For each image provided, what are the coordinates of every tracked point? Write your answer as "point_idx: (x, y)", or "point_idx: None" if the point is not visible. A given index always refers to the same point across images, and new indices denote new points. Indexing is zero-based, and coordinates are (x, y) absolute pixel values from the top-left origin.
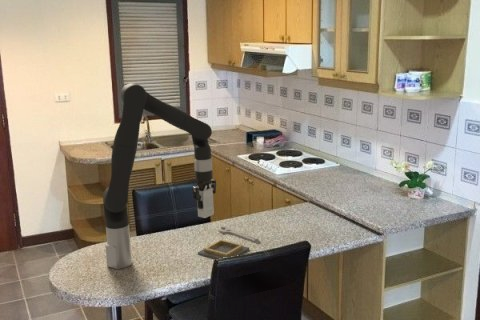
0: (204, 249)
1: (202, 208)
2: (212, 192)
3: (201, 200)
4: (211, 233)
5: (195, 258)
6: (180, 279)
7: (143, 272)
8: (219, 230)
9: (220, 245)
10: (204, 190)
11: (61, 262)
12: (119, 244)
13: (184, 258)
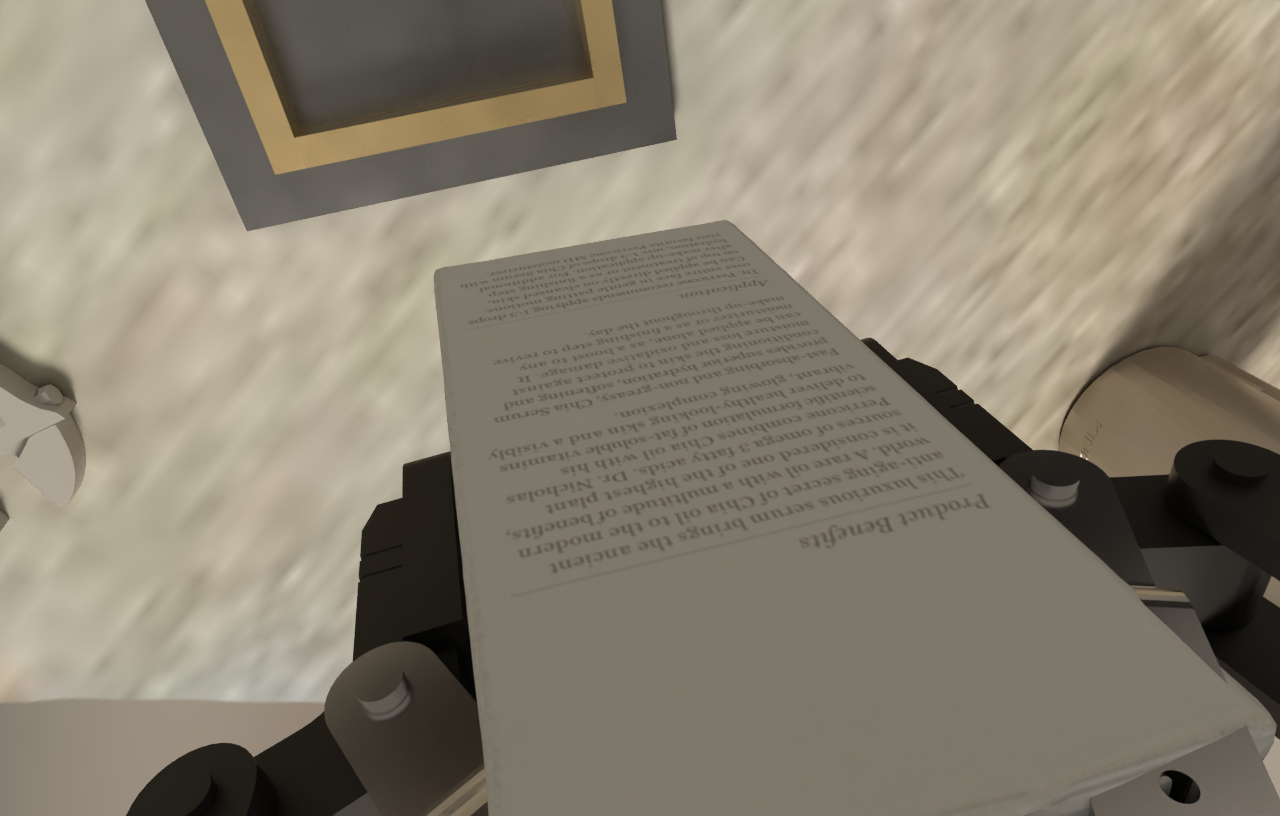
0: (624, 95)
1: None
2: (500, 709)
3: (1049, 456)
4: (189, 484)
5: (755, 68)
6: None
7: (1191, 181)
8: (75, 469)
9: (342, 94)
10: (1222, 792)
11: None
12: None
13: (818, 158)
